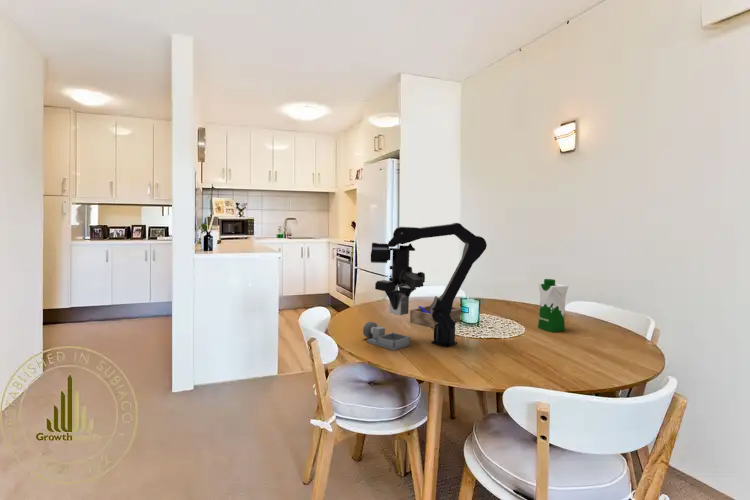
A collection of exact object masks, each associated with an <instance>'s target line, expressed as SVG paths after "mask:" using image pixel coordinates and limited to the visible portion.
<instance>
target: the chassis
mask: <svg viewBox="0 0 750 500" xmlns="http://www.w3.org/2000/svg"><path fill="white" fill-rule="evenodd" d="M377 326H378V327H372V328H371V330H370V333H371V334H373V338H368V339H366V343H367V344H370V345H374V346H378V347H381V348H384V349H387V350H390V351H397V350H400V349H401V348H402V349H403V348H405V347H408V346H411V336H407V335H403V334H400V333H397V332H390V333H387V334H386V328H385V327H383V326H380V325H377Z"/></svg>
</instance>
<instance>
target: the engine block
mask: <svg viewBox="0 0 750 500" xmlns="http://www.w3.org/2000/svg"><path fill="white" fill-rule="evenodd" d="M409 303H410V296H406V294H404V293H399V294H398V300H397V309H396V310H394V309H393V307H392V305H391V303H390V302H389V313H390V314H394V315H398V316H404V315H409V307H410V306H409Z"/></svg>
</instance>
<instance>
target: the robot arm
mask: <svg viewBox="0 0 750 500" xmlns="http://www.w3.org/2000/svg"><path fill="white" fill-rule="evenodd" d="M453 235H454V236H455V237H456V238H458V239H459V240H460V241H461V242H463V243H464V246H463V250H462V255H461V259H460V260H459V263H458V264H457V266H456V268H455V270H454V271H453V274H452V276H451V278H450V279H449V281H448V284H447V285H446V287H445V289H444V291H443V293H442V294H441V295H440V296H437V295H435V296H434V298H433V301H432V302H431V304H430V305H429V306H430V307H431V309H430V312H431V315H432V317H433V319H434V321H436V322H437V323H438V324H435V328H433V340H432V341H431V343H432V344H435V345H439V346H442V347H446V348H448V347H451V346H454V345H457V344H458V341H456V340H455V339H456V322H455V321H454V320H453V318H452V317H451V316H450V313H451V310H452V307H453V304H454V300H455V298H456V296H457V295H458V293H459V291H460V288H461V287H462V285H463V283H464V281H465V279H466V277H467V275H468V273H469V272H470V270H471V268H472V267H473V265H474V263H475V262H476V261H478V259H479V258H480V257H481V256H482V254H484V252H485V251H486V249H487V247H488V245H487V244H488V243H487V242H486V239H485V238H483V237H482V236H480V235H475V234H474V233H472V232H471V231H470V230H468V229H467V228H466V227H465V226H463V224H461V223H459V222H453V223H450V224H449V223H447V224H441V225H439V224H438V225H433V226H423V227H414V226H413V227H412V226H398V227H396V228H395V229H394V230H393V233H392V238H390V240H388V242H387V243H378V242H372V243H371V252H370V263H373V264H387V263H388V262H389V261H391V259H392V262H391V264H392V265H389V270H391V277H389V278H388V279H389V280H385V279H384V280H376V282H375V284H374V285H375V286H374V288H375V290H377V291H383V292H385V294H386V296H387V298H388V300H389V304H390V303H391V305H392V307H393V309H394V310H396V309H397V300H398V294H399V293H404V294H406V296H409V297H410V296H411V293H412V292H414V291H416V290H417V288H422V287H424V283H425V282H426V281H425V280H426V275H425V273H424V272H423V271H419V272H418V273H417V272H413V267H412V266H410V252H414V251H416V248H415V247H414V246H413V245H412V243H411V242H415V241H417V240H421V239H428V238H436V237H437V238H438V237H445V236H446V237H447V236H453ZM405 244H408V245H405ZM398 245H399V246H398ZM396 246H398V247H396ZM391 251H392V258H391Z"/></svg>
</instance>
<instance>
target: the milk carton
mask: <svg viewBox="0 0 750 500" xmlns="http://www.w3.org/2000/svg"><path fill="white" fill-rule="evenodd" d="M538 287H539V288H538V289H539V293H540V295H539V313H538V315H539V316H538V322H537V329H540V330H542V331H546V332H549V333H558V332H565V331H566V328H565V327H566V325H565V313H566V312H565V311H566V296H567V292H568V289H569V285H566V284H560V283H556V279H552V278H545V279H544V280H543V283H538Z"/></svg>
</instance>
